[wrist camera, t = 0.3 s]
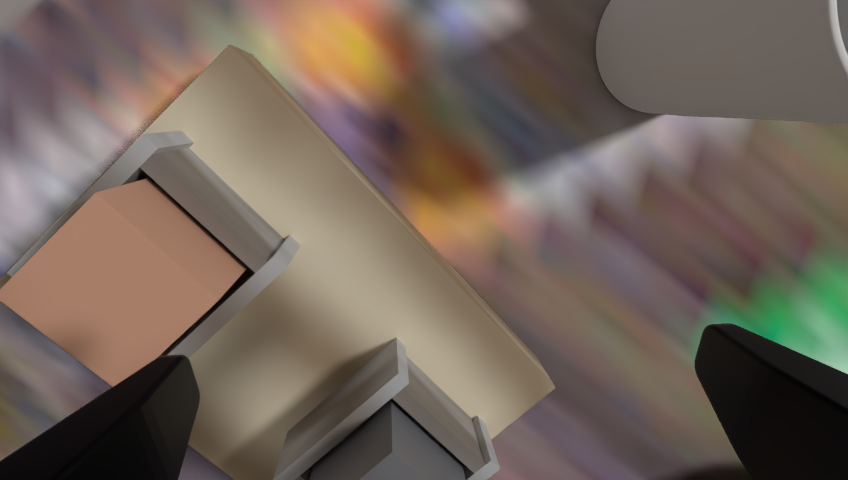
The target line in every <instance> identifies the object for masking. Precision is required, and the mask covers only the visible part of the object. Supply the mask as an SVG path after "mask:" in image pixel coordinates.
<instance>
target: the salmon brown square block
mask: <svg viewBox="0 0 848 480" xmlns="http://www.w3.org/2000/svg"><path fill="white" fill-rule="evenodd" d="M246 269H247V268H246V267H245V266H244V265H243V264H242V263H241V262H239V261H238V260H237V259H236V258H235V257H234V256H233V255H232V254H231V253H230V252H228V251H227V250H226V249H225V248H224V247H223V246H222V245H221V244H220V243H219V242H218V241H216V240H215V239H214V238H213V237H212V236H211V235H210V234H209V233H208V232H207V231H205V230H204V229H203V228H202V227H201V226H200V225H199V224H198V223H197V222H196V221H194V220H193V219H192V218H191V217H190V216H189V215H188V214H187V213H186V212H185V211H184V210H182V209H181V208H180V207H179V206H178V205H177V204H176V203H175V202H174V201H173V200H171V199H170V198H169V197H168V196H167V195H166V194H165V193H164V192H163V191H162V190H161V189H159V188H158V187H157V186H156V185H155V184H154V183H153V182H152V181H151V180H150V179H148V178H147V179H143V180H139V181H136V182H132V183H129V184H125V185H121V186H118V187H114V188H110V189H107V190H103V191H100V192H96V193H95V194H94V195H93V196H92V197H91V198H90V199H89V200H88V201H87V202H86V203H85V204H84V205H83V206H82V207H81V208H80V209H79V210H78V211H77V212H76V213H75V214H74V215H73V216H72V217H71V218H70V219H69V220H68V221H67V222H66V223H65V224H64V225H63V226H62V227H61V228H60V229H59V230H58V231H57V232H56V233H55V234H54V235H53V236H52V237H51V238H50V239H49V240H48V241H47V242H46V243H45V244H44V245H43V246H42V247H41V248H40V249H39V250H38V251H37V252H36V253H35V255H34V256H33V257H32V258H31V259H30V260H29V261H28V262H27V263H26V264H25V265H24V266H23V267H22V268H21V269H20V270H19V271H18V272H17V273H16V274H15V275H14V276H13V277H12V278H11V279H10V280H9V281H8V282H7V283H6V284H5V285H4V286H3V287H2V288H1V289H0V301H1V302H3V303H4V304H5V305H7V306H8V307H9V308H11V309H12V310H13V311H15V312H16V313H17V314H18V315H20V316H21V317H22V318H24V319H25V320H26V321H28V322H29V323H30V324H32V325H33V326H34V327H36V328H37V329H38V330H39V331H41V332H42V333H43V334H45V335H46V336H47V337H49V338H50V339H51V340H53V341H54V342H55V343H57V344H58V345H59V346H60V347H62V348H63V349H64V350H66V351H67V352H68V353H70V354H71V355H72V356H74V357H75V358H76V359H78V360H79V361H80V362H81V363H83V364H84V365H85V366H87V367H88V368H89V369H91V370H92V371H93V372H95V373H96V374H97V375H98V376H100V377H101V378H102V379H104V380H105V381H106V382H108V383H109V384H110V385H112V386H113V387H114V386H115V385H117V384H118V383H120V382H121V381H123V380H124V379H126V378H127V377H129V376H130V375H132V374H133V373H135V372H136V371H138V370H139V369H141V368H142V367H144V366H145V365H147V364H148V363H150V362H151V361H153V360H155V359H156V358H157V357H158V356H159V355H161V354H162V353H163V352H164V351H165V350H166V349H167V348H168V347H169V346H170V345H171V344H172V343H173V342H174V341H176V340H177V339H178V338H179V337H180V336H181V335H182V334H183V333H184V332H185V331H186V330H187V329H188V328H189V327H191V326H192V325H193V324H194V323H195V322H196V321H197V320H198V319H199V318H200V317H201V316H202V315H203V314H204V313H206V312H207V311H208V310H209V309H210V308H211V307H212V306H213V305H214V304H215V303H216V302H217V301H218V300H219V299H220V298H221V297H222V296H223V295H224V294H225V293H226V291H227V290H228V289H229V288H230V287H231V286H232V285H233V284H234V282H235V281H236V280H237V279H238V278H239V277H240V276H241V275H242V273H243V272H244V271H245V270H246Z"/></svg>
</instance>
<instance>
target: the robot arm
mask: <svg viewBox="0 0 848 480" xmlns="http://www.w3.org/2000/svg"><path fill="white" fill-rule="evenodd" d="M695 371H696V374H697V377H698V379H699V381H700V383H701V385H702V387H703V389H704V391H705V393H706V395H707V397H708V399H709V401H710V403H711V405H712V407H713V409H714V411H715V413H716V415H717V417H718V419H719V421H720V423H721V425H722V427H723V429H724V431H725V433H726V435H727V437H728V439H729V441H730V443H731V444H732V446H733V448H734V450H735V452H736V454H737V456H738V457H739V459H740V461H741V462H742V464H743V466H744V467H745V469H746V471H747V472H748V474H749V475H750V477H751V479H752V480H848V374H846V373H844V372H841V371H839V370H837V369H834V368H832V367H830V366H828V365H825V364H823V363H821V362H819V361H816V360H814V359H812V358H810V357H807V356H805V355H803V354H800V353H798V352H796V351H794V350H791V349H789V348H787V347H785V346H782V345H780V344H778V343H775V342H773V341H771V340H769V339H766V338H764V337H762V336H760V335H757V334H755V333H753V332H750V331H748V330H746V329H744V328H741V327H739V326H737V325H734V324H711V325H708V326H707V327H706V328H705V329H704V331H703V333H702V337H701V340H700V344H699V347H698V351H697V355H696V358H695ZM199 402H200V392H199V388H198V384H197V381H196V378H195V375H194V372H193V369H192V365H191V362H190V360H189V358H188V357H187V356H185V355H182V354H180V355H164V356H160V357H158V358H156V359H155V360H153V361H151V362H150V363H148V364H147V365H145V366H144V367H142V368H141V369H139V370H138V371H136V372H135V373H133V374H132V375H130V376H129V377H127V378H126V379H124V380H123V381H121V382H120V383H118V384H117V385H115V386H114V387H112V388H110V389H109V390H107V391H106V392H104V393H103V394H101V395H100V396H98V397H97V398H95V399H94V400H92V401H91V402H89V403H88V404H86V405H85V406H83V407H82V408H80V409H79V410H77V411H76V412H74V413H72V414H71V415H69V416H68V417H66V418H65V419H63V420H62V421H60V422H59V423H57V424H56V425H54V426H53V427H51V428H50V429H48V430H47V431H45V432H44V433H42V434H41V435H39V436H38V437H36V438H35V439H33V440H31V441H30V442H28V443H27V444H25V445H24V446H22V447H21V448H19V449H18V450H16V451H15V452H13V453H12V454H10V455H9V456H7V457H6V458H4V459H3V460H1V461H0V480H178V477H179V474H180V470H181V467H182V463H183V460H184V456H185V453H186V449H187V446H188V442H189V439H190V435H191V432H192V428H193V424H194V421H195V417H196V414H197V410H198V407H199Z"/></svg>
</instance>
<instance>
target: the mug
mask: <svg viewBox="0 0 848 480" xmlns="http://www.w3.org/2000/svg"><path fill="white" fill-rule="evenodd" d="M596 59H597V65H598V69H599V72H600V75H601V78H602V80H603V82H604V84H605V85H606V87H607V88H608V90H609V91H610V92H611V94H612V95H613V96H614V97H615V98H616V99H617V100H618V101H620V102H621V103H623V104H624V105H626V106H627V107H629V108H631V109H634V110H637V111H640V112H644V113H652V114H668V115H679V116H698V117H722V118H744V119H764V120H785V121H805V122H825V123H848V0H611V1H610V2H609V4H608V6H607V7H606V9H605V11H604V13H603V16H602V18H601V21H600V24H599V28H598V32H597V38H596Z"/></svg>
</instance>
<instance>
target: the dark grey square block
mask: <svg viewBox="0 0 848 480" xmlns="http://www.w3.org/2000/svg"><path fill="white" fill-rule="evenodd" d="M310 480H466V479H465V475H464V470H463V465H462V464H461V463H460V462H459V461H457V460H456V459H455V458H454V457H453V456H452V455H451V454H450V453H449V452H448V451H446V450H445V449H444V448H443V447H442V446H441V445H440V444H439V443H438V442H437V441H436V440H434V439H433V438H432V437H431V436H430V435H429V434H428V433H427V432H426V431H425V430H423V429H422V428H421V427H420V426H419V425H418V424H417V423H416V422H415V421H414V420H413V419H411V418H410V417H409V416H408V415H407V414H406V413H405V412H404V411H403V410H402V409H400V408H399V407H398V406H397V405H396V404H395V403H394V402H393V401H392V400H391V401H390V402H388V403H387V404H386V405H385V406H384V407H382V408H381V409H380V410H379V411H378V412H376V413H375V414H374V415H373V416H372V417H371V418H369V419H368V420H367V421H366V422H365V423H363V424H362V425H361V426H360V427H359V428H358V429H356V430H355V431H354V432H353V433H352V434H350V435H349V436H348V437H347V438H346V439H345V440H343V441H342V442H341V443H340V444H339V445H337V446H336V447H335V448H334V449H333V450H331V451H330V452H329V453H328V454H327V455H326V456H324V457H323V458H322V459H321V460H320V461H318V462H317V463H316V464H315V465H314V466H313V467H312V471H311V476H310Z"/></svg>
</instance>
